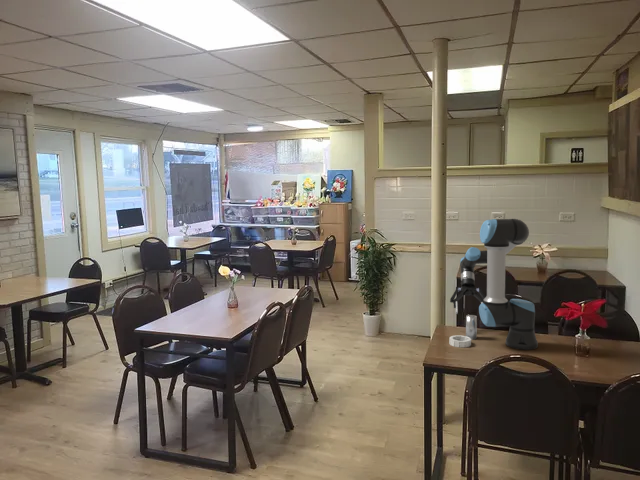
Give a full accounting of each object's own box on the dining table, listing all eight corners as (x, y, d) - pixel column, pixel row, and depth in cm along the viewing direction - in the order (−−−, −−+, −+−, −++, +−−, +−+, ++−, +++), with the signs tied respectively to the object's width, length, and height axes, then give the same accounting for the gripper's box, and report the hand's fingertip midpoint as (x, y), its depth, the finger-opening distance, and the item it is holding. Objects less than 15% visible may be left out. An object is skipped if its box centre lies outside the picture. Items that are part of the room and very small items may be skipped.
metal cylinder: (478, 338, 258) (478, 316, 257) (470, 340, 256) (471, 318, 255) (471, 335, 263) (471, 314, 262) (463, 337, 261) (463, 315, 259)
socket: (475, 345, 247) (475, 339, 247) (459, 348, 243) (459, 342, 243) (461, 339, 257) (461, 334, 257) (445, 342, 252) (445, 337, 252)
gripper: (490, 285, 278) (492, 317, 265) (445, 284, 284) (446, 315, 271) (491, 277, 272) (494, 310, 259) (445, 277, 278) (446, 308, 265)
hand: (469, 313), depth 265 cm, fingers open, 13 cm apart
